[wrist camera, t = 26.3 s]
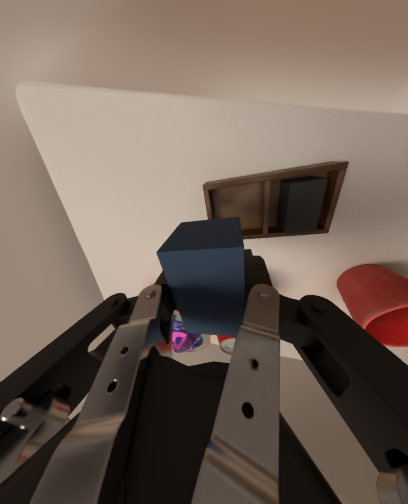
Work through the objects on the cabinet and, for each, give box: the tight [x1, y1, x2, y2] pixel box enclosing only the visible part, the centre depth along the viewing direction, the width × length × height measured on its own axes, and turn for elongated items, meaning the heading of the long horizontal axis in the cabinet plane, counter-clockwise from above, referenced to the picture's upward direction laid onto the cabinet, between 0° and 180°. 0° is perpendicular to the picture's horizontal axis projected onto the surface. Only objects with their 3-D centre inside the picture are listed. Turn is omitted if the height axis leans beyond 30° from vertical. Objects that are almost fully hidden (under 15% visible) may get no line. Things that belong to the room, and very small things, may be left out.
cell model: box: [172, 310, 211, 353], centre depth 35 cm, size 17×20×11 cm
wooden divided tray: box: [203, 162, 349, 239], centre depth 22 cm, size 9×17×4 cm, turn 100°
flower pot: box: [337, 265, 408, 347], centre depth 24 cm, size 11×11×10 cm
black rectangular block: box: [277, 176, 328, 234], centre depth 20 cm, size 7×4×4 cm, turn 10°
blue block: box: [157, 217, 246, 336], centre depth 10 cm, size 7×4×4 cm, turn 9°
